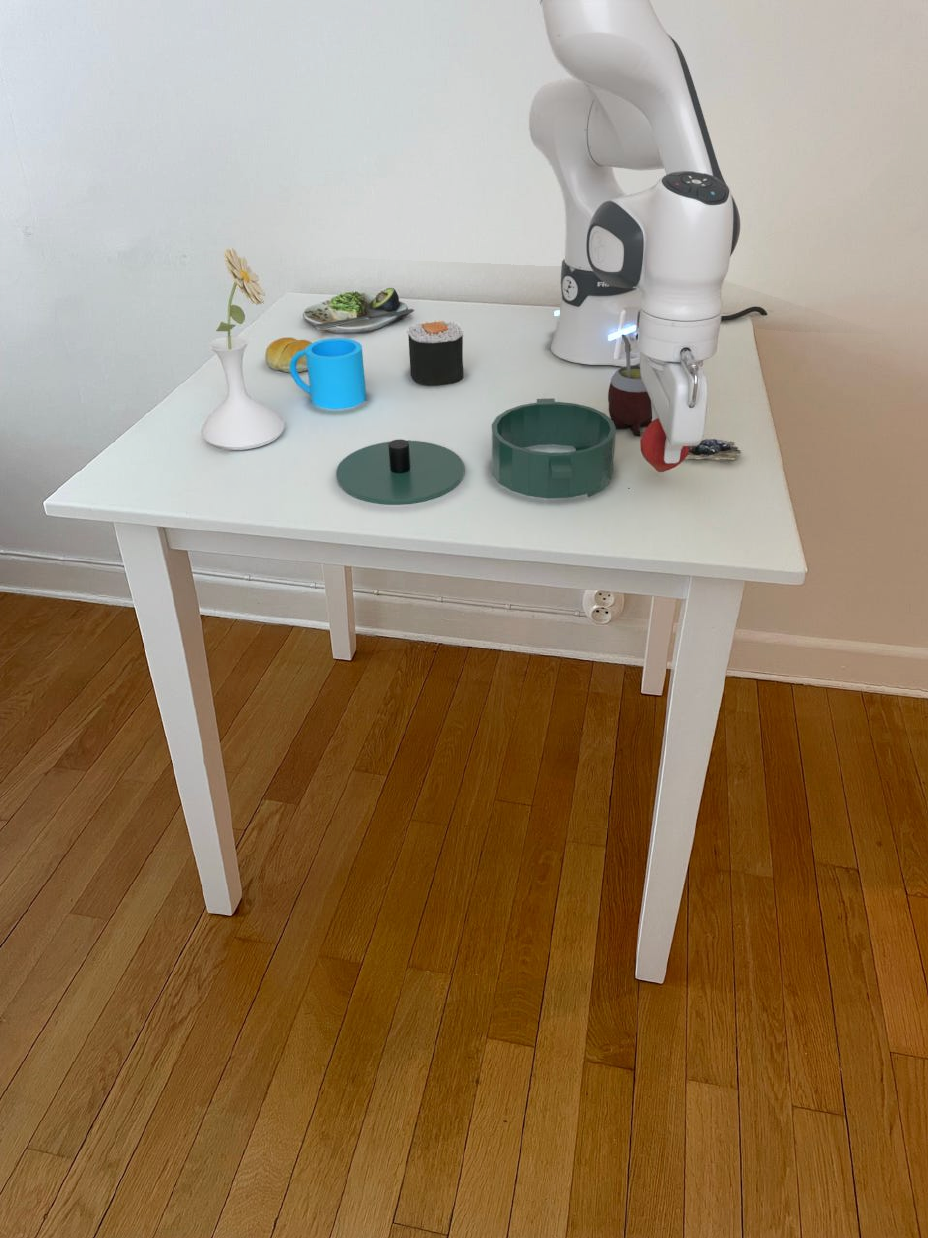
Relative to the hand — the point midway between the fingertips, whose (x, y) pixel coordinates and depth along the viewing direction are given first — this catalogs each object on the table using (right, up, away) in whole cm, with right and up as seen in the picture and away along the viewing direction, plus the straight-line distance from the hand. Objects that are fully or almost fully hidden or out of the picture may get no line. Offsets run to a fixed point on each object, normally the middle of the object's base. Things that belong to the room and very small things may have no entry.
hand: (664, 446), depth 114 cm
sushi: (-29, +17, +35) cm, 48 cm away
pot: (-13, -2, +8) cm, 15 cm away
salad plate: (-43, +33, +57) cm, 79 cm away
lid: (-32, -2, +8) cm, 33 cm away
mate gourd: (-1, +6, +19) cm, 19 cm away
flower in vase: (-54, +5, +19) cm, 58 cm away
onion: (0, -3, +2) cm, 4 cm away
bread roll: (-52, +21, +40) cm, 69 cm away
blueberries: (+8, +1, +12) cm, 14 cm away
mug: (-45, +12, +29) cm, 54 cm away
